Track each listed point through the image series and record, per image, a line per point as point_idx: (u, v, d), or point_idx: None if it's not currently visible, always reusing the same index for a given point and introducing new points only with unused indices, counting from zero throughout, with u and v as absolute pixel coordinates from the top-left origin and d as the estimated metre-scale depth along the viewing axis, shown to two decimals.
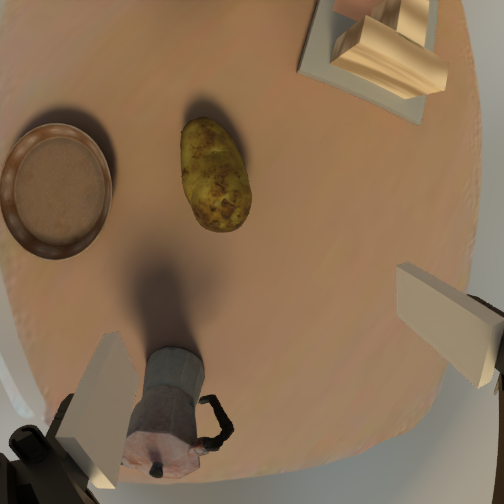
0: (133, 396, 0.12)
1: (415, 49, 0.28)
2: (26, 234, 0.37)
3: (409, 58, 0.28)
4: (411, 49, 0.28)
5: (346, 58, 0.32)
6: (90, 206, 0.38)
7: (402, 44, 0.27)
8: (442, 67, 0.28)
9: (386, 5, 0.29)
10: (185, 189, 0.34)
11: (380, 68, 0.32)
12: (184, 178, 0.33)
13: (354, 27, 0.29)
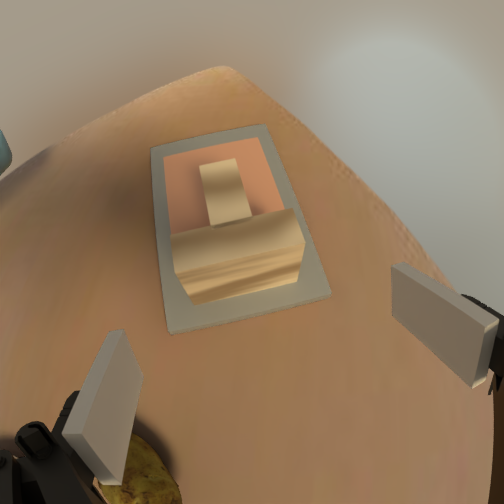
0: (137, 393, 0.13)
1: (242, 228, 0.30)
2: None
3: (240, 245, 0.29)
4: (237, 232, 0.30)
5: (194, 292, 0.33)
6: None
7: (224, 235, 0.30)
8: (287, 219, 0.31)
9: None
10: (108, 500, 0.22)
11: (230, 278, 0.32)
12: (102, 490, 0.22)
13: None
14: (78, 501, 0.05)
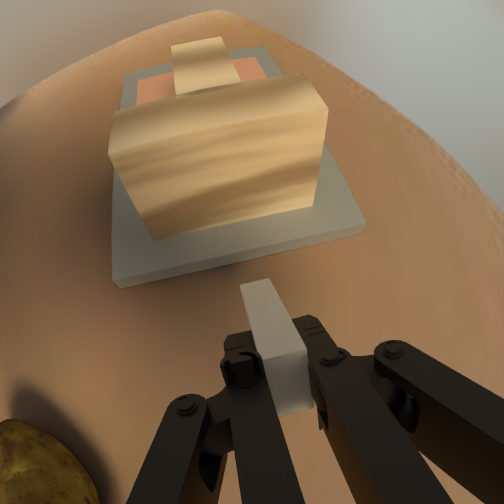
0: None
1: (225, 93, 0.17)
2: None
3: (220, 111, 0.16)
4: (217, 98, 0.17)
5: (149, 208, 0.20)
6: None
7: (195, 102, 0.17)
8: (296, 84, 0.17)
9: None
10: None
11: (205, 179, 0.19)
12: None
13: None
14: (271, 438, 0.07)
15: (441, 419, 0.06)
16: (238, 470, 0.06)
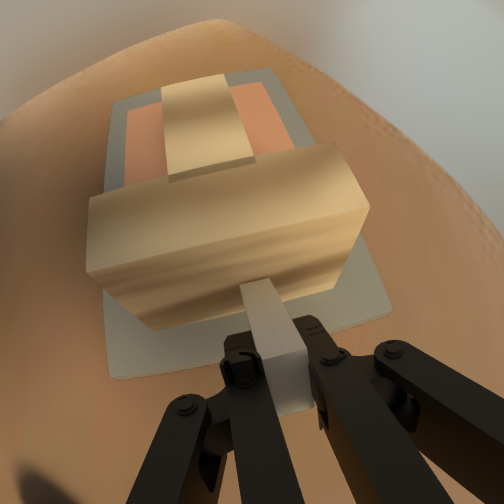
0: None
1: (234, 177, 0.14)
2: None
3: (229, 211, 0.13)
4: (223, 185, 0.14)
5: (145, 310, 0.17)
6: None
7: (194, 192, 0.14)
8: (326, 161, 0.14)
9: None
10: None
11: (211, 285, 0.16)
12: None
13: None
14: (270, 438, 0.07)
15: (441, 419, 0.06)
16: (238, 470, 0.06)
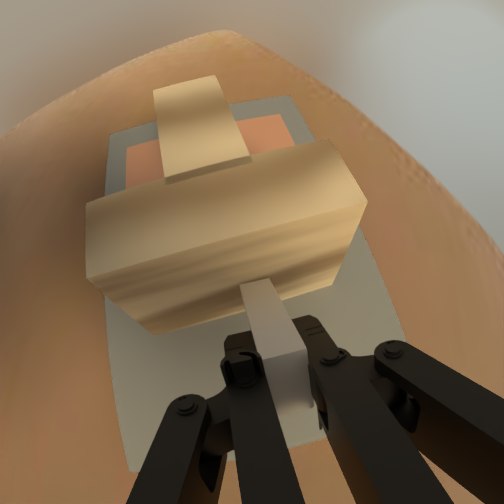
0: None
1: (231, 177, 0.14)
2: None
3: (228, 211, 0.13)
4: (220, 185, 0.14)
5: (145, 314, 0.17)
6: None
7: (192, 193, 0.14)
8: (322, 158, 0.14)
9: None
10: None
11: (211, 286, 0.16)
12: None
13: None
14: (270, 438, 0.07)
15: (441, 419, 0.06)
16: (238, 470, 0.06)
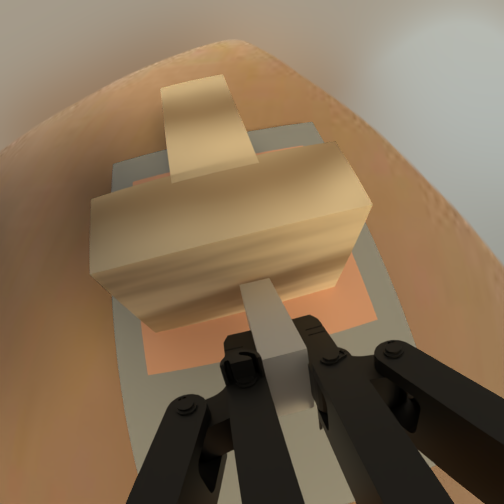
0: None
1: (237, 176, 0.14)
2: None
3: (233, 210, 0.13)
4: (226, 185, 0.14)
5: (148, 312, 0.17)
6: None
7: (197, 192, 0.14)
8: (328, 160, 0.14)
9: None
10: None
11: (215, 285, 0.16)
12: None
13: None
14: (270, 437, 0.07)
15: (441, 419, 0.06)
16: (238, 470, 0.06)
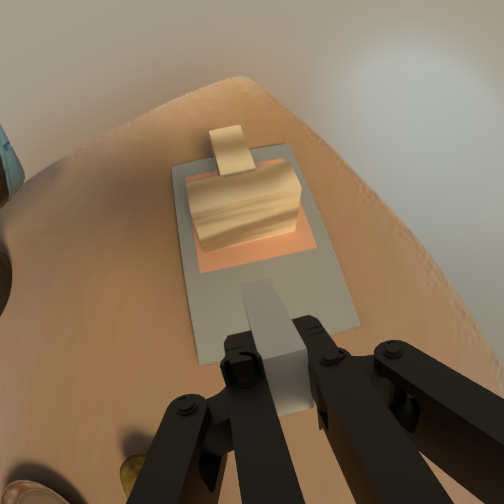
0: None
1: (248, 176, 0.35)
2: None
3: (246, 189, 0.34)
4: (244, 179, 0.35)
5: (205, 236, 0.38)
6: None
7: (232, 182, 0.35)
8: (285, 169, 0.35)
9: None
10: None
11: (237, 222, 0.37)
12: None
13: None
14: (271, 438, 0.07)
15: (441, 419, 0.06)
16: (238, 470, 0.06)
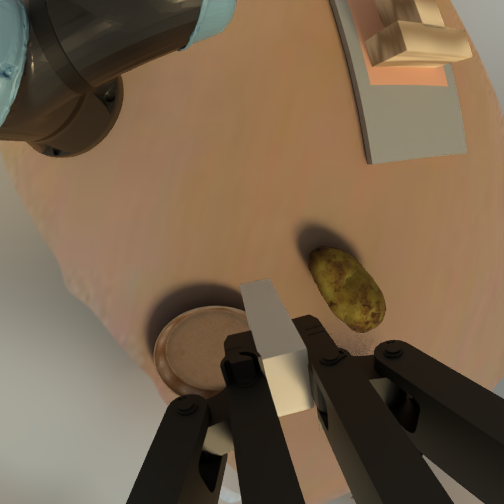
0: None
1: (441, 32, 0.28)
2: (202, 392, 0.47)
3: (442, 44, 0.28)
4: (439, 34, 0.28)
5: (390, 60, 0.33)
6: None
7: (432, 33, 0.28)
8: (462, 37, 0.28)
9: None
10: (337, 315, 0.41)
11: (418, 58, 0.32)
12: (334, 308, 0.41)
13: (387, 32, 0.30)
14: (271, 438, 0.07)
15: (441, 419, 0.06)
16: (238, 470, 0.06)
